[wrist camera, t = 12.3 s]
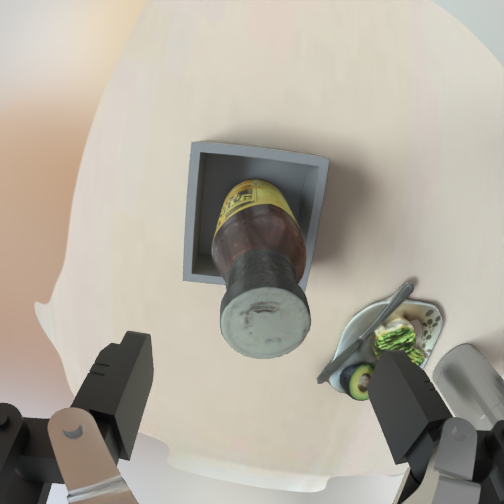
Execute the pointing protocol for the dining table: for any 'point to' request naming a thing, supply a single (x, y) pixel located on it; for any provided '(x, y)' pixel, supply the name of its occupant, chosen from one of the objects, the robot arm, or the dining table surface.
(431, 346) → the salad plate
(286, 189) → the bottle caddy
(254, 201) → the sauce bottle
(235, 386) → the dining table surface
